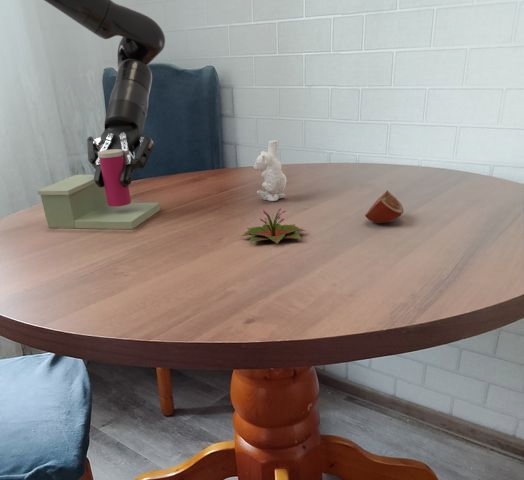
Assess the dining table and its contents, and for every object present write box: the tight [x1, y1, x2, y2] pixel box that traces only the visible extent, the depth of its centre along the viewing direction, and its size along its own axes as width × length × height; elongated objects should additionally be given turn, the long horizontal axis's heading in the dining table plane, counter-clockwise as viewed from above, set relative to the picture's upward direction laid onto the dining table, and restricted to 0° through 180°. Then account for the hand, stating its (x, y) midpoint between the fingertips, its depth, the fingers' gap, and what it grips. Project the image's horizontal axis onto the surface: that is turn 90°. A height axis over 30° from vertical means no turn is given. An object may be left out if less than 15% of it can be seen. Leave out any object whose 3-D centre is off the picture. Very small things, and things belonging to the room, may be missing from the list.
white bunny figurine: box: [253, 139, 288, 202], centre depth 115 cm, size 8×7×12 cm
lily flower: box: [241, 208, 307, 245], centre depth 93 cm, size 12×12×5 cm
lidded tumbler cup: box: [98, 149, 132, 206], centre depth 106 cm, size 5×5×10 cm
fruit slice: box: [364, 189, 404, 224], centre depth 97 cm, size 8×7×5 cm
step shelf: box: [36, 174, 161, 230], centre depth 109 cm, size 15×18×7 cm
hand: (111, 184), depth 105 cm, fingers closed on lidded tumbler cup, 4 cm apart
